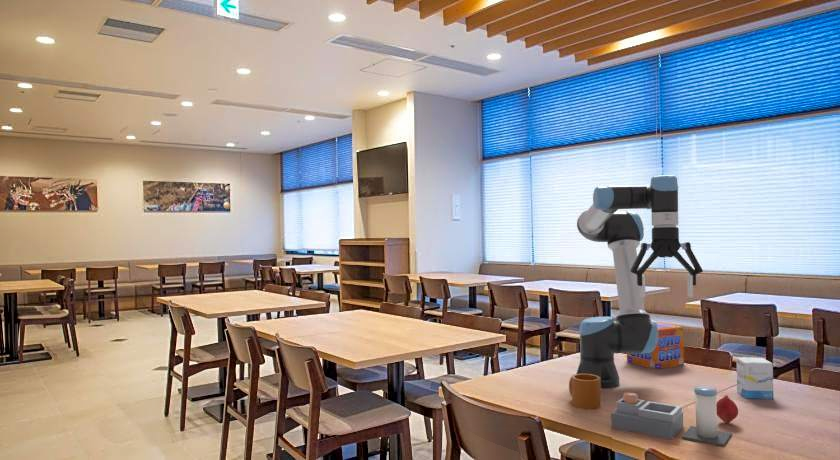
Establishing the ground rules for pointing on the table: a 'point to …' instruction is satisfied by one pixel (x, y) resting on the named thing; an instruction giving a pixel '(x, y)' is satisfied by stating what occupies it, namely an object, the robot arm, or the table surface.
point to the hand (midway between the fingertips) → (666, 296)
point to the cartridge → (706, 412)
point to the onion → (726, 409)
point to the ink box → (755, 378)
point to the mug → (585, 391)
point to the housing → (648, 418)
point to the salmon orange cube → (630, 398)
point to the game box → (663, 349)
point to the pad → (719, 440)
